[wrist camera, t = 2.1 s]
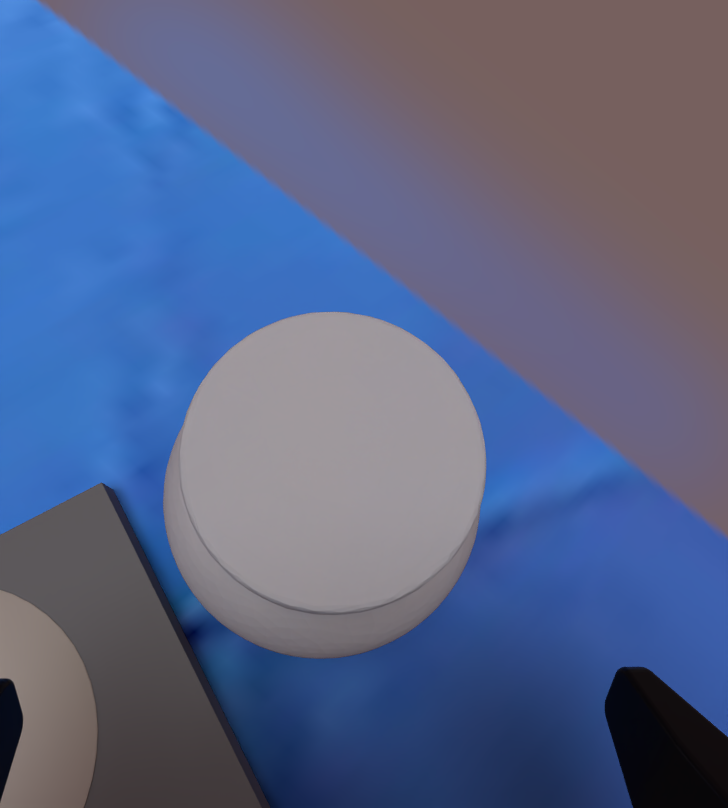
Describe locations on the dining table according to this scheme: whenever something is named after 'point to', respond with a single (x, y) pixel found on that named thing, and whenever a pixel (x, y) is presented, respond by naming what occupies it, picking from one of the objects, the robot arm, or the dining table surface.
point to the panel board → (106, 674)
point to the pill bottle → (325, 485)
